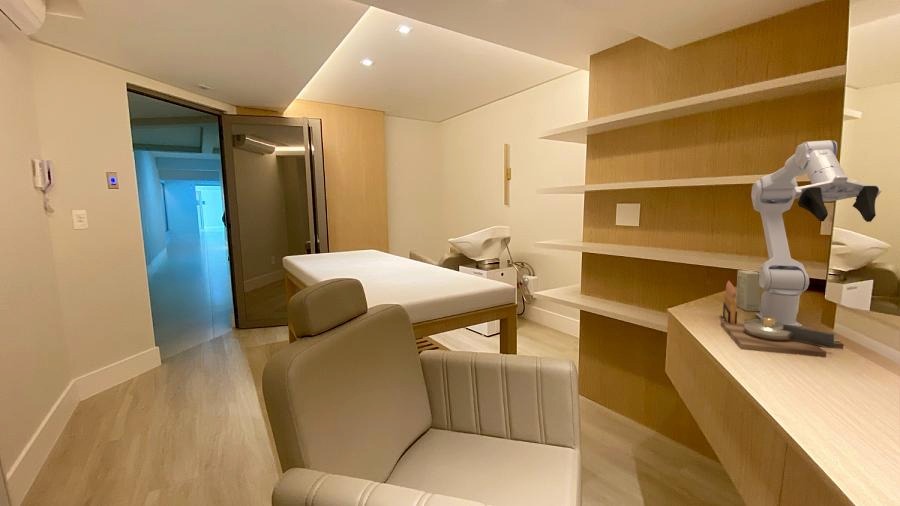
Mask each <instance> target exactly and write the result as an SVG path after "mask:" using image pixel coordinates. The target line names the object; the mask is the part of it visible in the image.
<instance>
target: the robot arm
mask: <svg viewBox="0 0 900 506" xmlns="http://www.w3.org/2000/svg"><path fill="white" fill-rule="evenodd" d="M837 155H838V143H837V142H836V141H835V140H830V139H829V140H813V141H803V142H802V143H801V144H798V146H797V147H796V148H795V152H794V153H793V154H792V156H790V157H789V158H788V159H786V161H785V162H784V166H783V167H781V168H779V169H778V170H776V171H775V172H772V173H769V174H767V175H763V176H760V178H759V179H757V180H756V181H754V182H753V184H752V187H751V195H750V196H751V200H752V201H751V202H752V206H753V210H754V211H756V212H758V213H760V217H761V222H762V228H763V232H764V239H765V244H766V248H767V256H768V260H767V261H764V262H763V263H762V264H761V266H760V267H759V269H758V273H759V284H760V287H761V290H762V291H763V290H764V292H763V293H761V303H760V311H759V313H755V316H756V317H758V318H759V320H763V317H772V318H775V319H776V320H775V322H779V323H783V324H787V325H793V326H798V327H803V324H801V323H800V322H799V321H797V306H798V297H799V295H800V296H802V294H803V292H805V291H806V290H807V289H808V288H809V285H810V276H809V274H808V272H807V271H806V269H805V266H804V264H803V263H802V262H800V261H797V260H795V259H794V258H792V257H791V251H790V247H789V242H788V237H787V233H786V227H785V222H784V217H783V213H785V212H787V211H789V210H791V208H792V205H793V204H794V201H795V199H798V201H797V205H798V207H799V208H802V209H805V210H806V211H808V212H809V213H811V214H812V215H813V216H814V217H815V218H816V219H817V220H818V221H819V222H825V221H826V219H827V217H828V216H829V212H828V209H827V207H826V204H825V202H837V201H842V200H845V199H851V198H855V201H854V203H853V204H852V207H853V208H854V209H856V210H857V211H858V212H859V213H860V215H861V216H862V219H863V220H864V221H865V222H866V223H871V222H872V221H873V220H874V219H875V217H876V199H877V198H878V197H879V195H880V194H881V192H882V190H881V188H880V186H879V185H871V184H866V183H862V182H857V181H853V180H849V178H848V176H847V175H846V173H845V171H844V170H843V168H842V166H841V164H840V163H839V162H840V161H839V160H838V158H837ZM806 174H807V177H808V179H809V181H810V183H811V184H808V185H807V184H806V185H802V186H798V182H797V178H796V177H799V176H804V175H806Z"/></svg>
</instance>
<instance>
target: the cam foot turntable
mask: <svg viewBox="0 0 900 506" xmlns="http://www.w3.org/2000/svg"><path fill="white" fill-rule="evenodd" d="M775 320H776V319H775V318H772V317H763V320H762V319H746V320H745V321H744V322H743V323H744V331H745V332H746V333H748V334H751V335H753V336H757V337H761V338H765V339H771V340H792V339H794V340H799V341H804V342H809V343H813V344H818V345H823V346H828V347H833V346H834V341H835V339H836V333H835V332H829V331H825V330H819V329H813V328H808V327H803V326H802V327H798V326H793V325H787V324H783V323H779V322H775Z"/></svg>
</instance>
